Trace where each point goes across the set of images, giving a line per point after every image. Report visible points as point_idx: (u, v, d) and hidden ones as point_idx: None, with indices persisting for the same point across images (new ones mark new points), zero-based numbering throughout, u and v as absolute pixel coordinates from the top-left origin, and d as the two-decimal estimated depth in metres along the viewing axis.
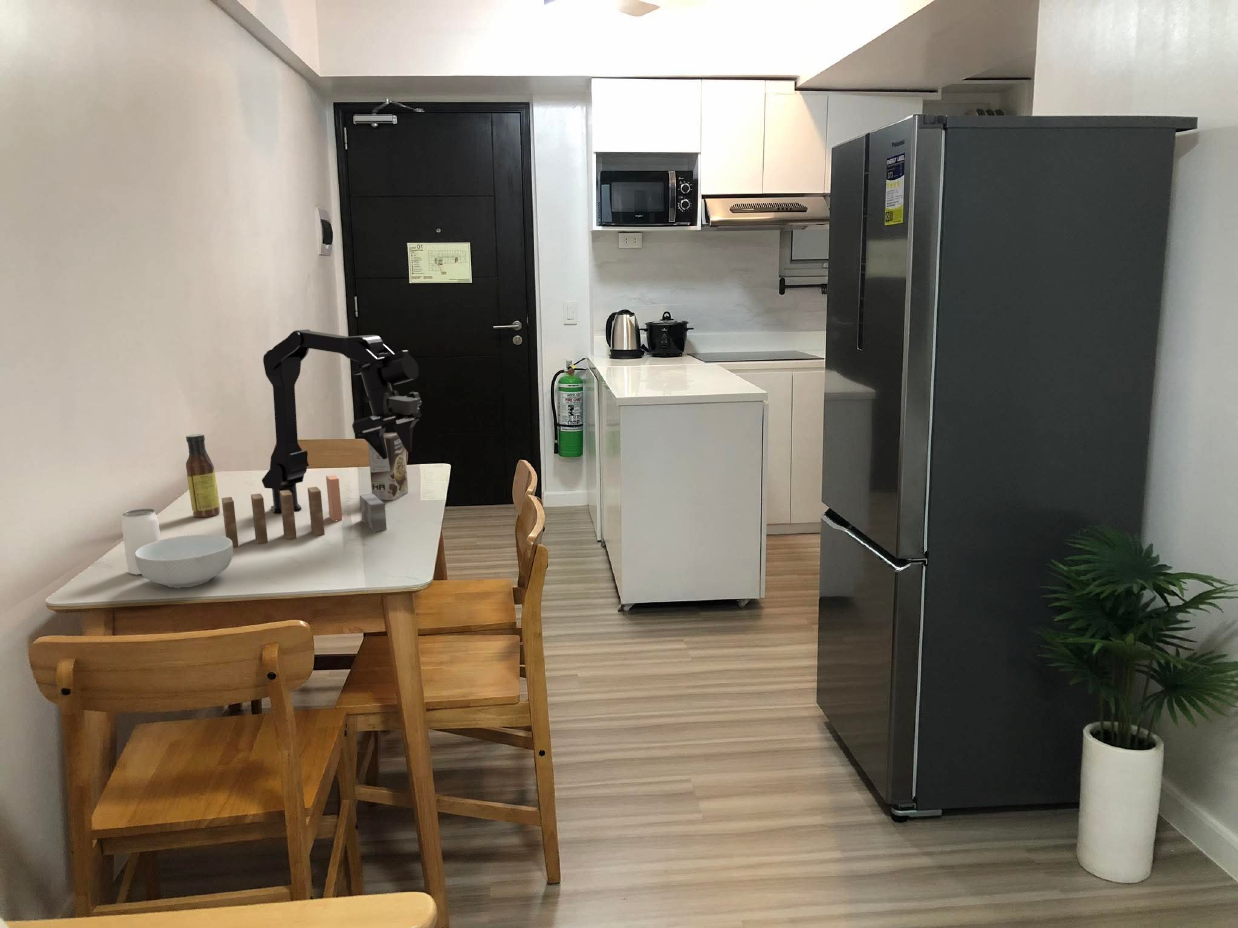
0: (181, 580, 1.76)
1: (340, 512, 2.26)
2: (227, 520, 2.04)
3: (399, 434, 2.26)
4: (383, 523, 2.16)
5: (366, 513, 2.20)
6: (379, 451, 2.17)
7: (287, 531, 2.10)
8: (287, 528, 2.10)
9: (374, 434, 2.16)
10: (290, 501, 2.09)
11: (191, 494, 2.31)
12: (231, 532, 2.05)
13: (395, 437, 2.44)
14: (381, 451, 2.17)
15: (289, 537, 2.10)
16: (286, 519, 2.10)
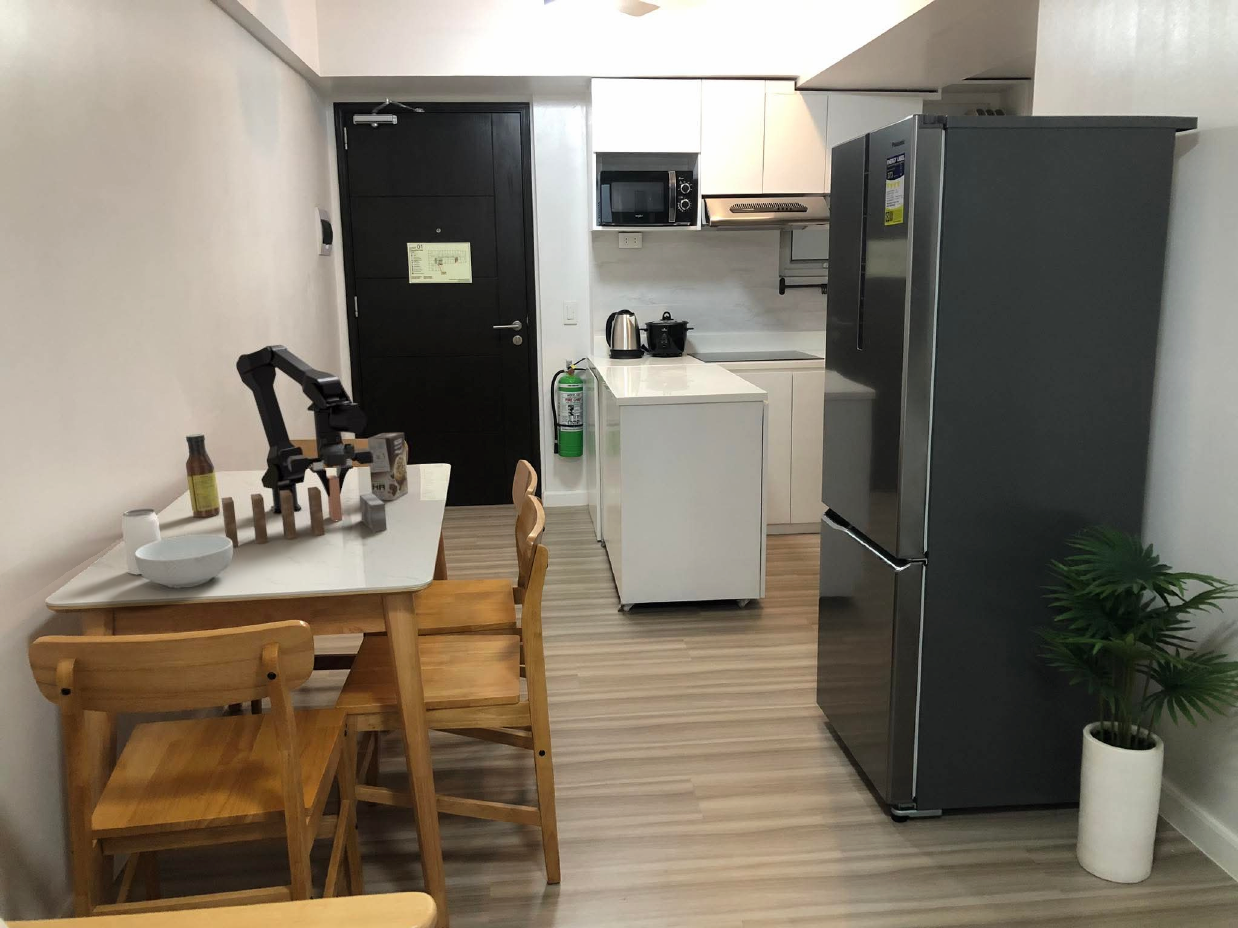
0: (181, 580, 1.76)
1: (340, 512, 2.26)
2: (227, 520, 2.04)
3: None
4: (383, 523, 2.16)
5: (366, 513, 2.20)
6: (324, 488, 2.26)
7: (287, 531, 2.10)
8: (287, 528, 2.10)
9: None
10: (290, 501, 2.09)
11: (191, 494, 2.31)
12: (231, 532, 2.05)
13: (395, 437, 2.44)
14: (325, 488, 2.26)
15: (289, 537, 2.10)
16: (286, 519, 2.10)
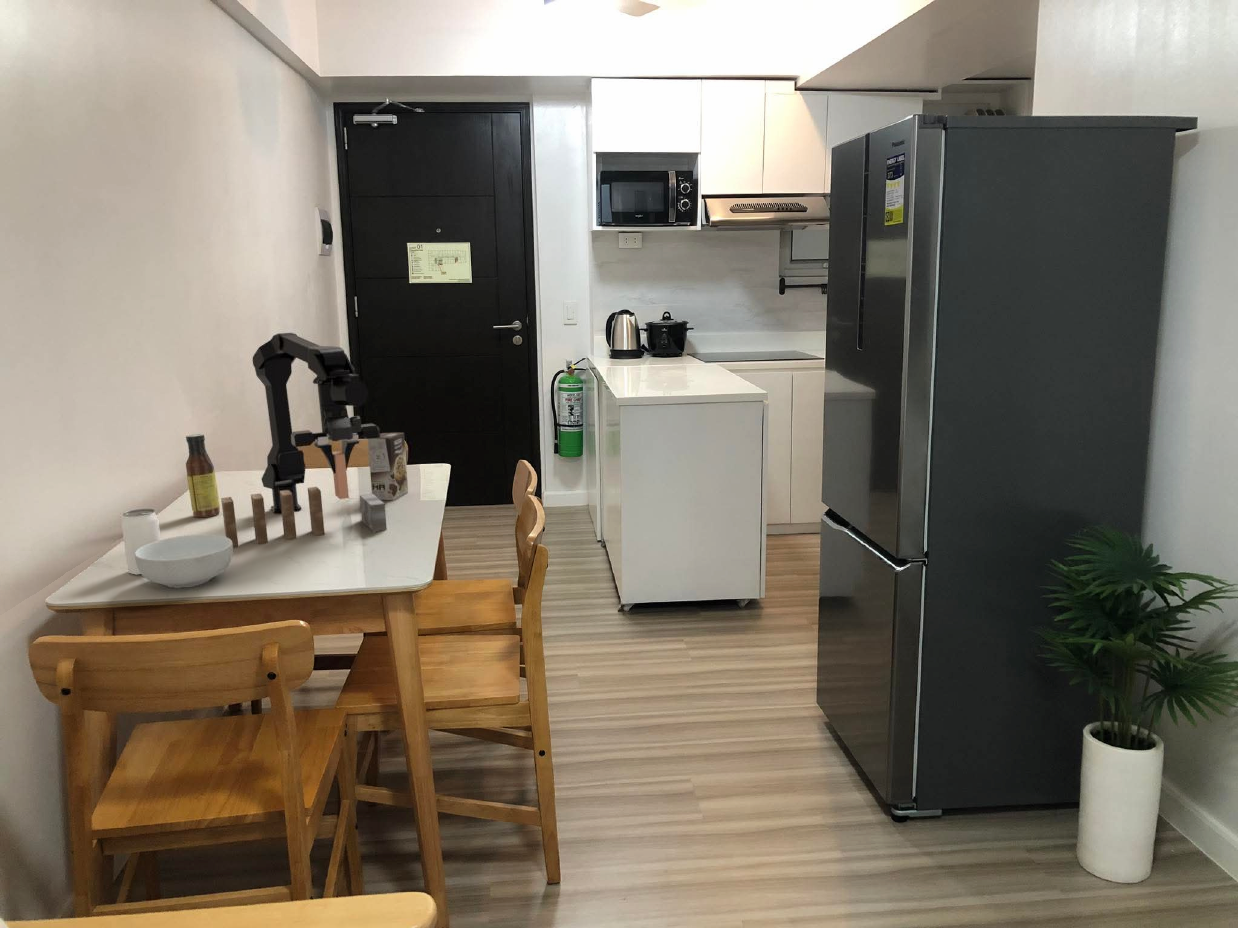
0: (181, 580, 1.76)
1: (346, 489, 2.17)
2: (227, 520, 2.04)
3: (342, 451, 2.19)
4: (383, 523, 2.16)
5: (366, 513, 2.20)
6: (329, 464, 2.17)
7: (287, 531, 2.10)
8: (287, 528, 2.10)
9: None
10: (290, 501, 2.09)
11: (191, 494, 2.31)
12: (231, 532, 2.05)
13: (395, 437, 2.44)
14: (330, 465, 2.17)
15: (289, 537, 2.10)
16: (286, 519, 2.10)
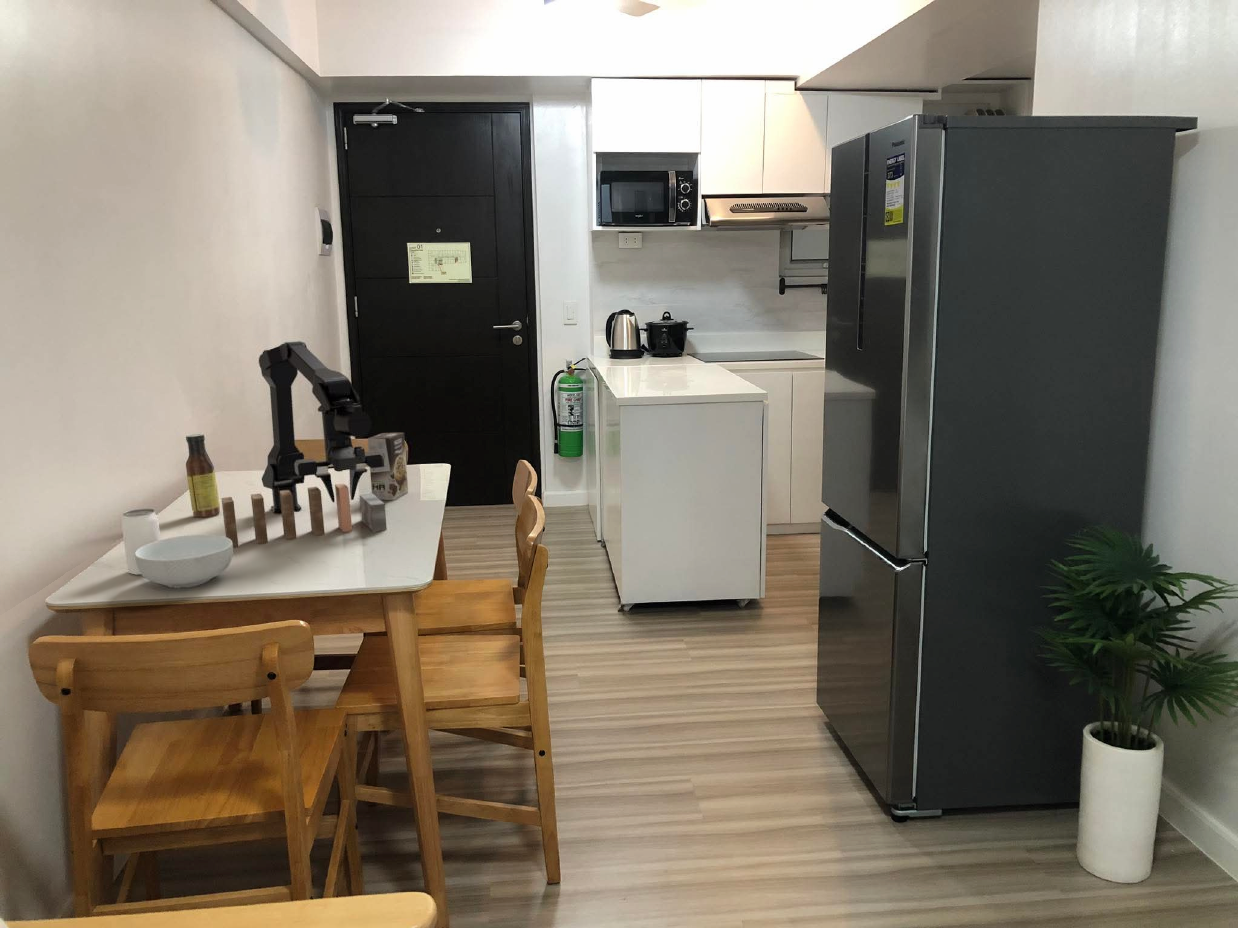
0: (181, 580, 1.76)
1: (350, 522, 2.16)
2: (227, 520, 2.04)
3: (350, 479, 2.18)
4: (383, 523, 2.16)
5: (366, 513, 2.20)
6: (328, 493, 2.16)
7: (287, 531, 2.10)
8: (287, 528, 2.10)
9: None
10: (290, 501, 2.09)
11: (191, 494, 2.31)
12: (231, 532, 2.05)
13: (395, 437, 2.44)
14: (329, 494, 2.15)
15: (289, 537, 2.10)
16: (286, 519, 2.10)
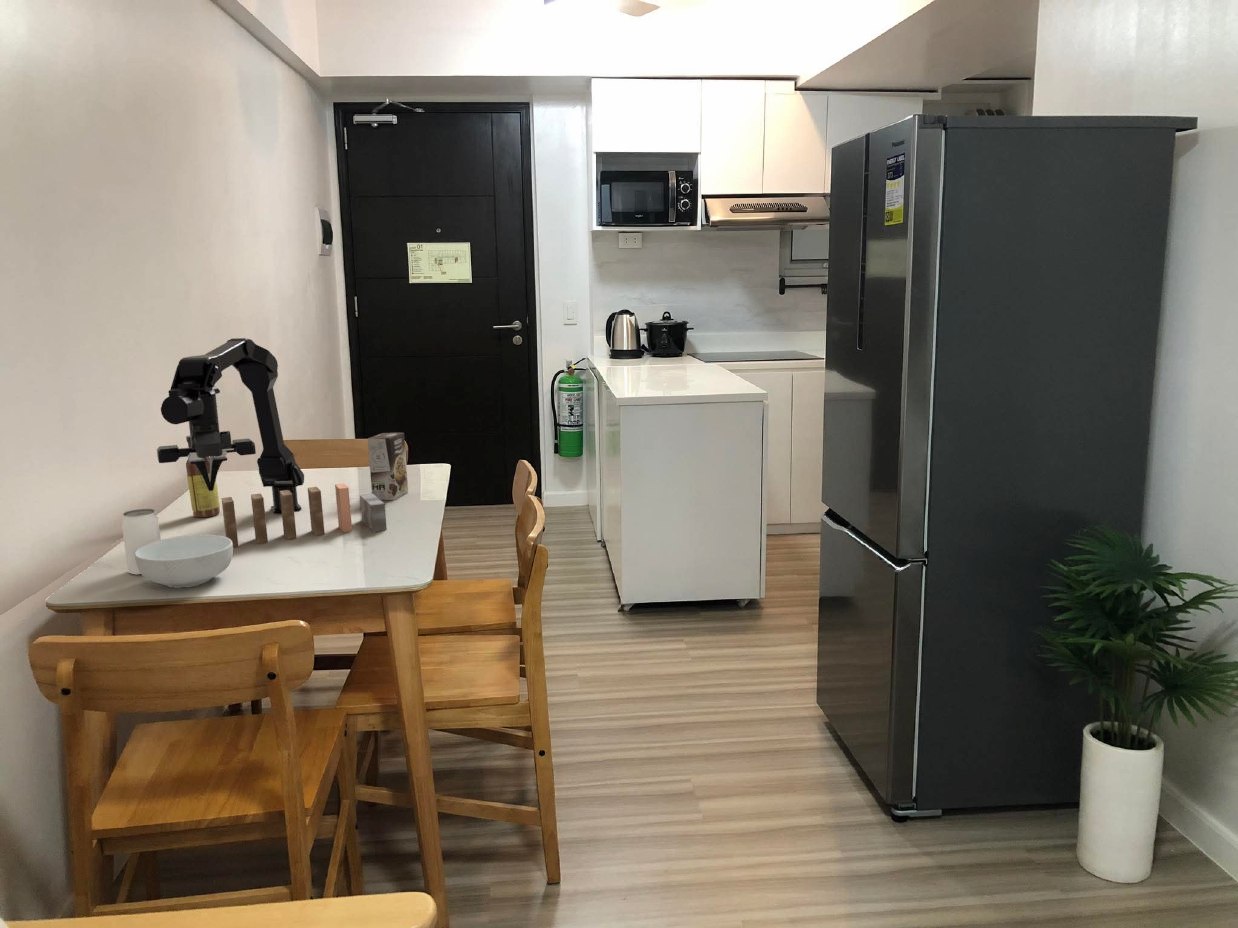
0: (181, 580, 1.76)
1: (350, 522, 2.16)
2: (227, 520, 2.04)
3: (210, 468, 2.04)
4: (383, 523, 2.16)
5: (366, 513, 2.20)
6: None
7: (287, 531, 2.10)
8: (287, 528, 2.10)
9: None
10: (290, 501, 2.09)
11: (191, 494, 2.31)
12: (231, 532, 2.05)
13: (395, 437, 2.44)
14: None
15: (289, 537, 2.10)
16: (286, 519, 2.10)
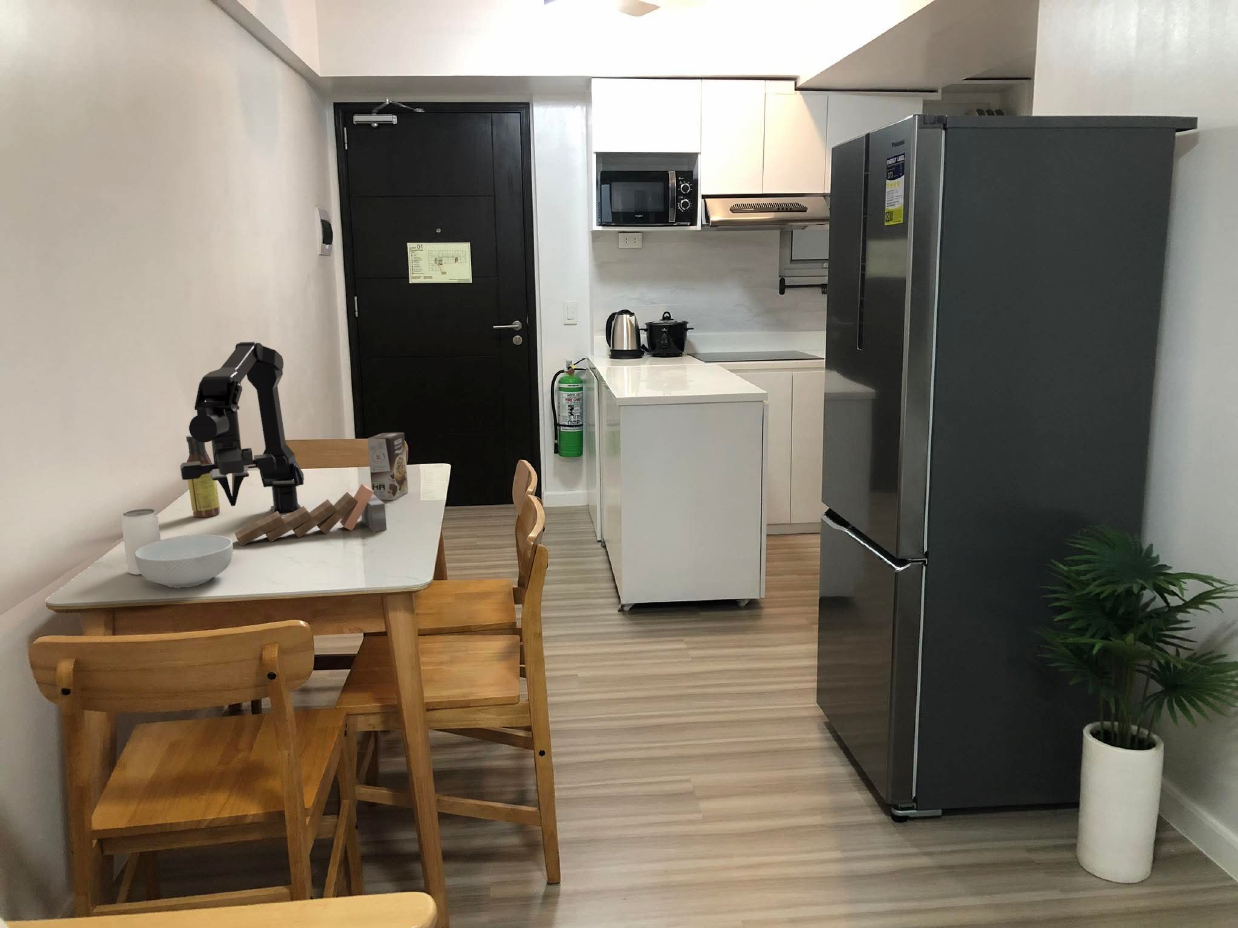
0: (181, 580, 1.76)
1: (355, 522, 2.16)
2: (264, 526, 2.08)
3: (232, 483, 2.07)
4: (383, 523, 2.16)
5: (366, 513, 2.20)
6: (227, 496, 2.06)
7: (301, 526, 2.11)
8: (304, 525, 2.11)
9: None
10: (330, 512, 2.14)
11: (191, 494, 2.31)
12: (253, 534, 2.07)
13: (395, 437, 2.44)
14: None
15: (296, 531, 2.11)
16: (311, 519, 2.12)
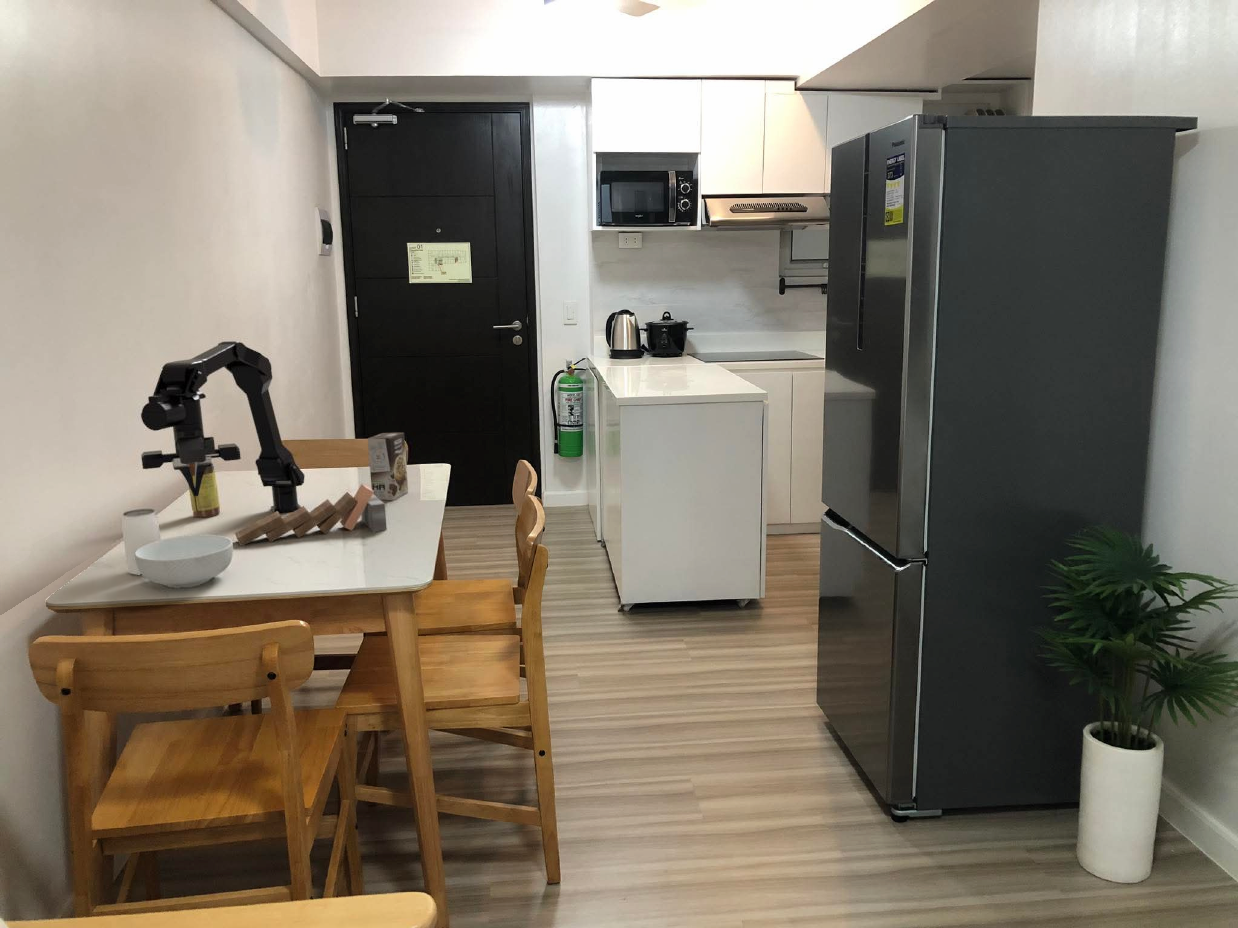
0: (181, 580, 1.76)
1: (355, 522, 2.16)
2: (264, 526, 2.08)
3: (195, 473, 2.03)
4: (383, 523, 2.16)
5: (366, 513, 2.20)
6: None
7: (301, 526, 2.11)
8: (304, 525, 2.11)
9: None
10: (330, 512, 2.14)
11: (191, 494, 2.31)
12: (253, 534, 2.07)
13: (395, 437, 2.44)
14: None
15: (296, 531, 2.11)
16: (311, 519, 2.12)
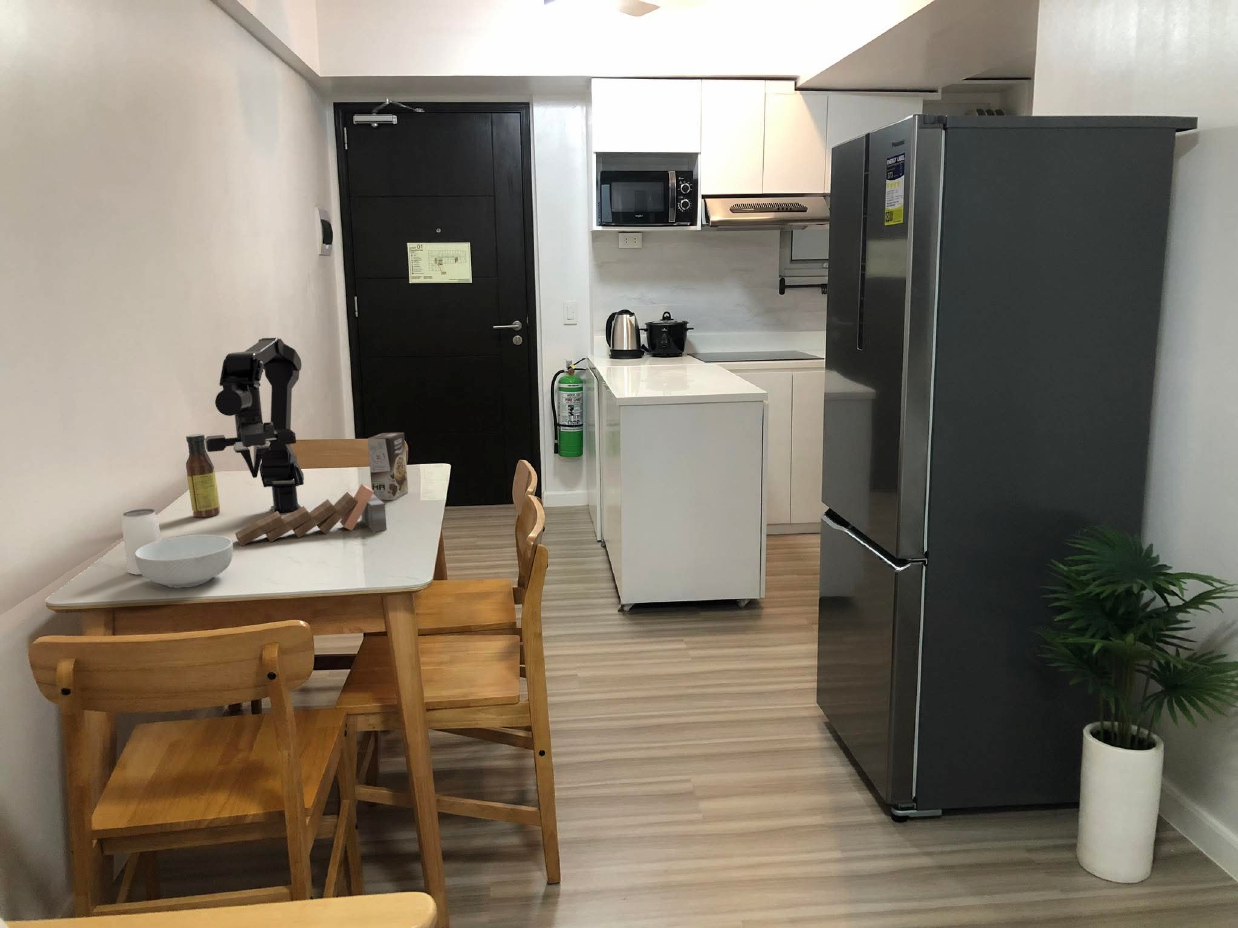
0: (181, 580, 1.76)
1: (355, 522, 2.16)
2: (264, 526, 2.08)
3: None
4: (383, 523, 2.16)
5: (366, 513, 2.20)
6: (249, 469, 2.18)
7: (301, 526, 2.11)
8: (304, 525, 2.11)
9: None
10: (330, 512, 2.14)
11: (191, 494, 2.31)
12: (253, 534, 2.07)
13: (395, 437, 2.44)
14: (250, 469, 2.17)
15: (296, 531, 2.11)
16: (311, 519, 2.12)
